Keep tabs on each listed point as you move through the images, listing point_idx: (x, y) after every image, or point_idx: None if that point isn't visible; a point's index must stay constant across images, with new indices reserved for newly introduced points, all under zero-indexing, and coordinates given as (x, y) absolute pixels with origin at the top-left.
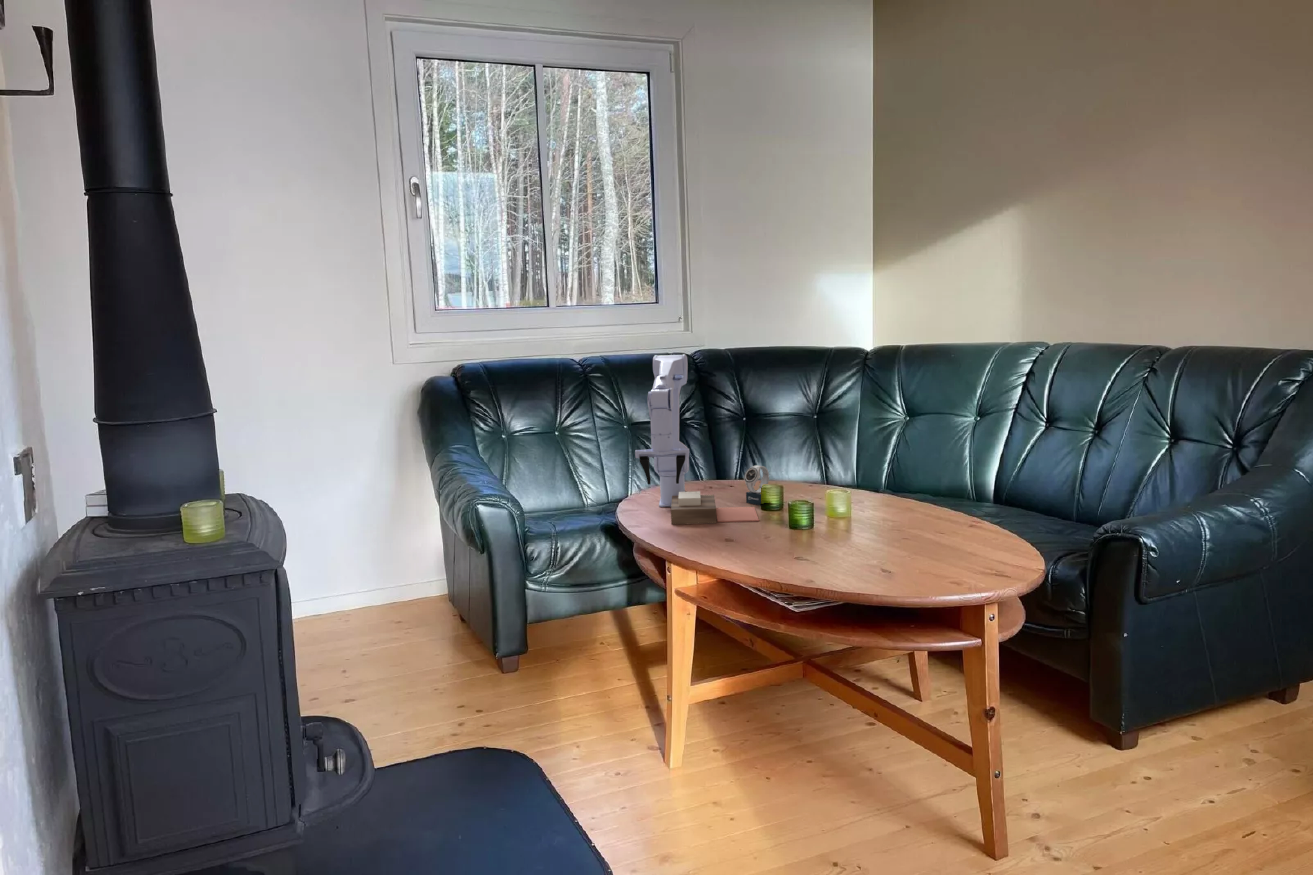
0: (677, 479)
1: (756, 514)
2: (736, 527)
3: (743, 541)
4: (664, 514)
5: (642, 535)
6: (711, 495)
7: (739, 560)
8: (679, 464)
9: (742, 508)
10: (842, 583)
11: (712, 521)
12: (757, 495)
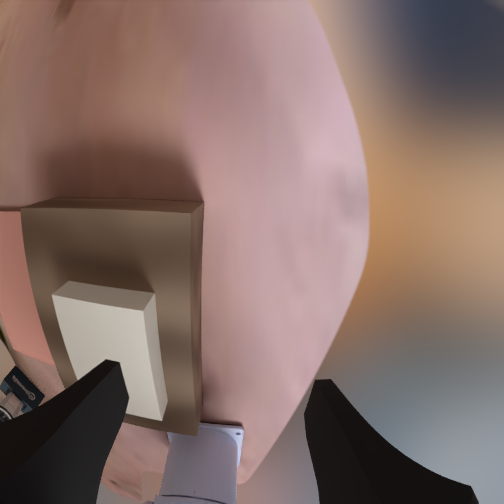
0: (95, 374)
1: None
2: (17, 141)
3: (43, 5)
4: (228, 358)
5: (330, 51)
6: None
7: None
8: (7, 441)
9: (26, 344)
10: None
11: (59, 199)
12: (10, 384)
